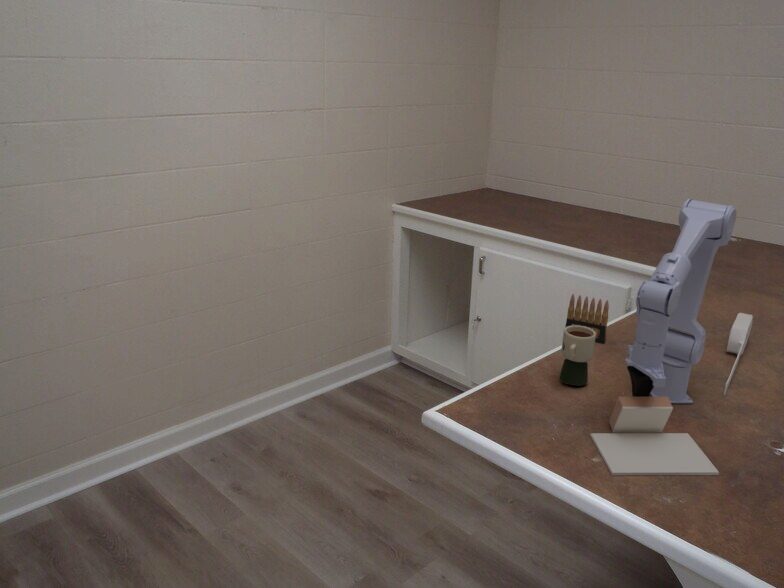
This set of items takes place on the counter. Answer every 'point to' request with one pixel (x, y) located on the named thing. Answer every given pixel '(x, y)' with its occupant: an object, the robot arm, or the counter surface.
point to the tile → (640, 414)
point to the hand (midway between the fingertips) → (639, 401)
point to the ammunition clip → (589, 317)
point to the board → (652, 454)
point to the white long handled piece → (738, 339)
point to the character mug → (577, 354)
